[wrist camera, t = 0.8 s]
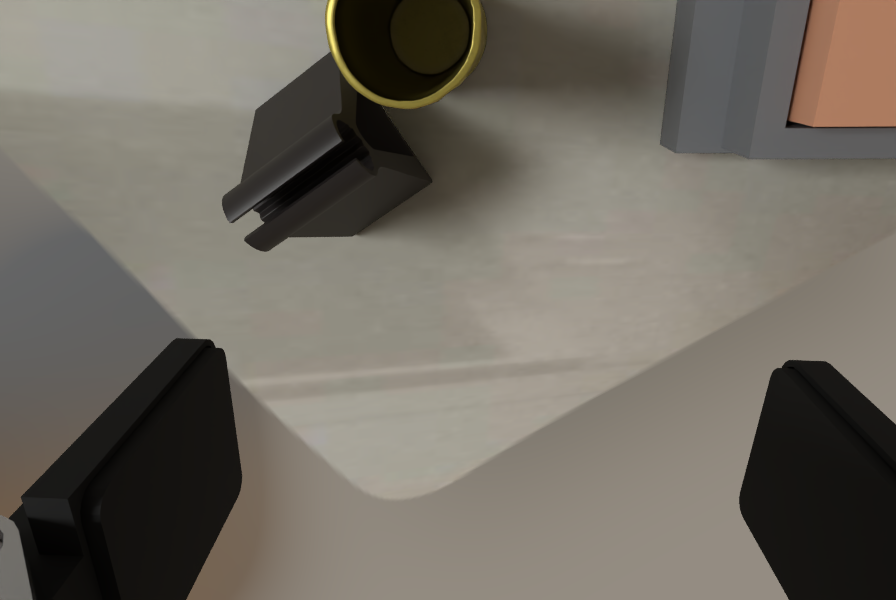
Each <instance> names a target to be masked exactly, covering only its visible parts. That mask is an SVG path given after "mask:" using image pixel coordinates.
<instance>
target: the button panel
mask: <svg viewBox="0 0 896 600" xmlns="http://www.w3.org/2000/svg"><path fill="white" fill-rule="evenodd" d="M809 4H810V0H677V8H676V16H675V24H674V33H673V41H672V49H671V57H670V66H669V74H668V82H667V91H666V99H665V107H664V115H663V124H662V132H661V140H660V145H662V146H664V147H666V148H667V149H669V150H671V151H673V152H675V153H736V154H738V155H740V156H743V157H745V158H747V159H896V126H866V127H812V126H808V125H804V124H800V123H796V122H792V121H789V120H787V116H788V111H789V106H790V101H791V96H792V91H793V85H794V80H795V75H796V70H797V65H798V60H799V55H800V50H801V45H802V40H803V34H804V29H805V24H806V19H807V14H808V9H809Z"/></svg>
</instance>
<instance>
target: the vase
mask: <svg viewBox="0 0 896 600" xmlns="http://www.w3.org/2000/svg"><path fill="white" fill-rule="evenodd" d="M325 25H326V33H327V39H328V44H329V48H330V51H331V53H332V56H333V58H334V60H335V62H336V64H337V66H338V68H339V69H340V71H341V73H342V74H343V76H344V77H345V79H346V80H347V81H348V83H349V84H350V85H351V86H352V87H353V88H354V89H355V90H357V91H358V92H359V93H360V94H362V95H363V96H365V97H366V98H368V99H370V100H371V101H373V102H375V103H378V104H380V105H383V106H388V107H393V108H400V109H417V108H420V107H423V106H426V105H429V104H432V103H435V102H438V101H439V100H441V99H442V98H443V97H444V96H445V95H446V94H448V93H449V92H450V91H452V90H453V89H454V88H456V87H458V86H459V85H461V84H462V82H463V81H464V80H465V78H466V77H468V76H469V75H470V74H471V73H472V72H473V71H474V69H475V68H476V67H477V65H478V63H479V61H480V59H481V57H482V55H483V52H484V49H485V46H486V40H487V23H486V16H485V12H484V9H483V7H482V4H481V3H480V0H328V1H327V6H326V12H325Z"/></svg>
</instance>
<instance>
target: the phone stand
mask: <svg viewBox="0 0 896 600" xmlns="http://www.w3.org/2000/svg"><path fill="white" fill-rule="evenodd" d="M430 183H432V180H431V178H430V176H429V175H428V173H427V172H426V170H425V169H424V168H423V166H422V165H421V163H420V162H419V160H418V159H417V157H416V156H415V154H414V153H413V152H412V150H411V149H410V147H409V146H408V144H407V143H406V141H405V140H404V139H403V137H402V136H401V134H400V133H399V131H398V130H397V128H396V127H395V126H394V124H393V123H392V121H391V120H390V119H389V118H388V116H387V115H386V113H385V111H384V110H383V108H382V107H381V105H380V104H378V103H375V102H373V101H371V100H370V99H368V98H366V97H365V96H363V95H362V94H360V93H359V92H358V91H357V90H355V89H354V88H353V87H352V86H351V85H350V84H349V83H348V81H347V80H346V79H345V77H344V76H343V74H342V73H341V71H340V69H339V68H338V66H337V64H336V62H335V60H334V58H333V56H332V53H331V52H329V53H328V54H327V55H326V56H324V57H323V58H322V59H320V60H319V61H318V62H317V63H315V64H314V65H313V66H311V67H310V68H309V69H308V70H306V71H305V72H304V73H303V74H301V75H300V76H299V77H297V78H296V79H295V80H294V81H292V82H291V83H290V84H288V85H287V86H286V87H285V88H283V89H282V90H281V91H279V92H278V93H277V94H276V95H274V96H273V97H272V98H270V99H269V100H268V101H267V102H265V103H264V104H263V105H262V106H260V107H259V108H258V109H256V111H255V116H254V121H253V126H252V131H251V136H250V140H249V145H248V150H247V155H246V160H245V164H244V169H243V174H242V179H241V183H240V184H239V185H237V186H236V187H235V188H233V189H232V190H231V191H229V192H228V193H227V194H225V195H224V196H223V199H222V206H223V210H224V213H225V215H226V218H227V220H228V221H229V223H234V222H235V221H236V220H238V219H239V218H240V217H242V216H243V215H245V214H246V213H247V212H249V211H250V210H251V209H253V210H254V211H256V212H258V213H260V218H261V220H262V221H263V222H265V223H264V224H263V225H261V226H260V227H258V228H257V229H256V230H254V231H253V232H251V233H250V234H249V235H247V236H246V237H245V239H244V241H245V242H246V243H248V244H249V245H250V246H252V247H253V248H255V249H257V250H260V251H264V252H266V251H269V250H271V249H272V248H274V247H275V246H277V245H278V244H279V243H281V242H282V241H284V240H285V239H287V238H288V237H348V236H354V235H355V234H357V233H358V232H360V231H361V230H363V229H364V228H365V227H367V226H368V225H370V224H371V223H373V222H374V221H376V220H377V219H379V218H380V217H382V216H383V215H385V214H386V213H388V212H389V211H391V210H392V209H393V208H395V207H396V206H398V205H399V204H401V203H402V202H404V201H405V200H407V199H408V198H410V197H411V196H413V195H414V194H416V193H417V192H419V191H420V190H422V189H423V188H424V187H426V186H427V185H429V184H430Z"/></svg>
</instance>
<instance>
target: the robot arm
mask: <svg viewBox="0 0 896 600" xmlns="http://www.w3.org/2000/svg"><path fill="white" fill-rule="evenodd" d="M241 483H242V471H241V464H240V457H239V450H238V442H237V435H236V428H235V420H234V413H233V406H232V399H231V392H230V384H229V377H228V369H227V362H226V356H225V352H224V350H223V349H222V348H215V345H214V343H213V341H211V340H209V339H180V338H176V339H175V340H173V341H172V342H171V343H170V344H169V345H168V346H167V347H166V348H165V349H164V350H163V351H162V352H161V353H160V355H158V357H156V358H155V360H154V361H153V362H152V363H151V364H150V365H149V366H148V367H147V368H146V369H145V370H144V371H143V372H142V373H141V374H140V375H139V376H138V377H137V378H136V379H135V380H134V381H133V382H132V383H131V384H130V385H129V386H128V387H127V388H126V389H125V390H124V392H122V394H121V395H120V396H119V397H118V398H117V399H116V400H115V401H114V402H113V403H112V404H111V405H110V406H109V407H108V408H107V409H106V410H105V411H104V412H103V413H102V414H101V415H100V416H99V417H98V418H97V419H96V420H95V421H94V422H93V423H92V424H91V425H90V426H89V427H88V428H87V429H86V431H85V432H84V433H83V434H82V435H81V436H80V437H79V438H78V439H77V440H76V441H75V442H74V443H73V444H72V445H71V446H70V447H69V448H68V449H67V450H66V451H65V452H64V453H63V454H62V455H61V456H60V457H59V458H58V460H56V461H55V462H54V463H53V464H52V465H51V466H50V468H49V469H48V470H47V471H46V472H45V473H44V474H43V475H42V476H41V477H40V478H39V479H38V480H37V481H36V482H35V483H34V484H33V485H32V486H31V487H30V488H29V489H28V490H27V491H26V492H25V493H24V494H23V495H22V496H21V499H22V502H23V504H22V505H21V506H20V507H19V508H18V509H17V510H16V511H15V512H14V513H13V514H12V515H11V516H10V517H9V519H8V518H5V517H4V516H0V600H186V599H187V597H188V595H189V593H190V591H191V589H192V587H193V585H194V583H195V581H196V579H197V577H198V575H199V573H200V571H201V569H202V567H203V565H204V563H205V561H206V559H207V557H208V555H209V553H210V551H211V549H212V547H213V545H214V543H215V541H216V539H217V537H218V535H219V533H220V531H221V529H222V527H223V525H224V523H225V522H226V519H227V517H228V516H229V514H230V511H231V510H232V508H233V505H234V503H235V502H236V500H237V498H238V495H239V492H240V489H241ZM739 504H740V510H741V514H742V516H743V518H744V520H745V522H746V524H747V526H748V527H749V529H750V531H751V533H752V534H753V536H754V538H755V540H756V542H757V543H758V545H759V547H760V549H761V550H762V552H763V554H764V556H765V558H766V559H767V561H768V563H769V565H770V566H771V568H772V570H773V572H774V574H775V576H776V577H777V579H778V581H779V583H780V584H781V586H782V588H783V590H784V592H785V593H786V595H787V597H788V599H789V600H896V424H895V423H893V422H892V421H891V420H890V419H889V418H888V417H887V416H886V415H885V414H883V412H882V411H880V410H879V409H878V408H877V407H876V406H875V405H874V404H873V403H871V401H870V400H868V399H867V398H866V397H865V396H864V395H863V394H862V393H861V392H860V391H859V390H858V389H856V387H854V386H853V385H852V384H851V383H850V382H849V381H848V380H847V379H846V378H845V377H843V376H842V375H841V374H840V373H839V372H838V371H837V370H836V369H835V368H834V367H833V366H832V365H831V364H829V363H827V362H824V361H801V360H789V361H787V362H785V363H784V365H783V366H782V368H777V369H775V370H774V371H773V372H772V375H771V377H770V381H769V385H768V389H767V392H766V396H765V400H764V404H763V408H762V412H761V415H760V419H759V423H758V427H757V430H756V434H755V438H754V442H753V446H752V449H751V453H750V457H749V461H748V465H747V469H746V472H745V476H744V480H743V484H742V488H741V491H740V497H739Z"/></svg>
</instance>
